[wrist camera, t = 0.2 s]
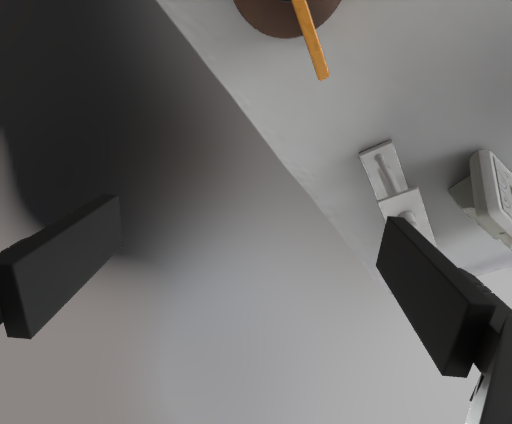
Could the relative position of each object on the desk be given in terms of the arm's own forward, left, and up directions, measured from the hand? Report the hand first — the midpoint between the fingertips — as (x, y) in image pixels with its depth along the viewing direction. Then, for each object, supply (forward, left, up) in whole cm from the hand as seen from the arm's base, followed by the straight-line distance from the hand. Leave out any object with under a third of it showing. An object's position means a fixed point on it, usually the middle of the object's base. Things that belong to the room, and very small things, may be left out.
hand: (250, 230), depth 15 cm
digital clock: (-14, +33, -28) cm, 45 cm away
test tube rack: (-2, +29, -28) cm, 40 cm away
